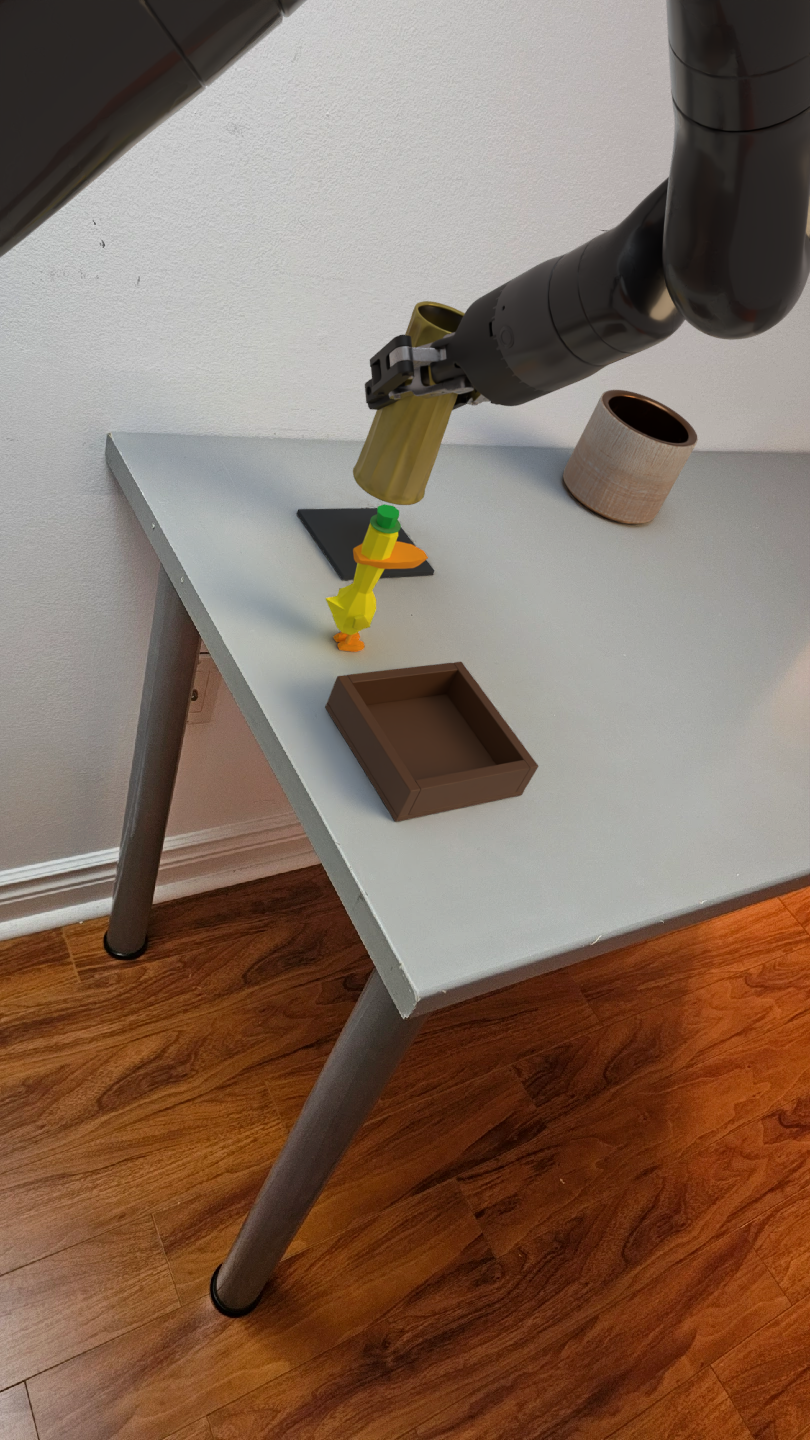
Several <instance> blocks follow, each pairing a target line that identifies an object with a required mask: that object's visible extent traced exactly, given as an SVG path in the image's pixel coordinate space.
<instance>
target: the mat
mask: <svg viewBox="0 0 810 1440" xmlns="http://www.w3.org/2000/svg"><path fill="white" fill-rule="evenodd" d="M377 511H378V507H353V508H350V507H348V508H298V509H297V511H296V515H297V517H298V518H299V519H300V521H301V522H302V524H303V525H304V527H305V528H306V530H307V531H308V533H309V534H310V535H311V537H312V538H313V540H314V542H315V543H316V545H317V546H318V547H319V549H320V550H321V552H322V553H323V554H324V556H325V557H326V559H327V560H328V561H329V563H330V565H331V566H332V568H334V570H335V572H336V573H337V574H338V576H339V578H340V579H341V580H342V581H354V577H355V572H356V567H357V562H355V560H354V555H353V549H354V548H355V547H357V546H359V545H361V544H362V543H363V541H364V539H365V536H366V533H367V530H368V528H369V525H370V520H371V517H372V516H374V515H376V514H377ZM396 541H398V542H403V543H408V544H412V545H414V546H416V544H415V543H414V541H413V540H412V539H411V538H410V537H409V535H408V534H407V532H406V531H405V530H404V528H403V527H402V526H401V528H400V530H399V531H398V537H397V540H396ZM435 571H436V570H435V569H434V568H433V566H432V565H431V563H430V562H429V561H428V559H426V560H425V561H424V562H423V563H421V564H420V565H419V566H417V567H415V568H407V569H384V571H383V573H382V574H381V576H380V578H379V579H388V578H389V579H390V578H406V577H424V576H425V577H426V576H434V573H435Z"/></svg>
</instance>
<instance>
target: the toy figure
mask: <svg viewBox="0 0 810 1440" xmlns="http://www.w3.org/2000/svg"><path fill="white" fill-rule="evenodd" d="M377 508H378V511H377V514H376V515H374V516H372V517H371V520H370V525H369V528H368V530H367V533H366V536H365V539H364V541H363V543H362V544H361V545H359V546H357V547H355V548H354V549H353V555H354V560H355V562H357V567H356V572H355V577H354V580H352V581H353V582H352V583H350V584H348V585H346V586H344V587H340V588H339V590H338V592H337V595H334V596H329V597H325V598H324V599H325V602H326V603H327V606H328V608H329V610H330V613H331V616H332V619H333V621H334V623H335V626H336V628H337V629H338V630H339V632H338V633H336V634H334V635H333V640H334V641H335V643H337V648H338V650H339V651H345V652H352V653H357V652H361V651H363V650H364V649H365V647H366V646H365V642H364V641H362V640H361V639H360V638H361V635H360V633H359V632H361V631H363V630H365V629H369V628H371V625H372V621H373V619H374V617H375V614H376V611H377V598H376V595H375V593H374V591H373V590H374V588H375V587H376V585H377V584H378V582H379V580H380V579H381V578H380V576H381V574H382V573H383V571H384V569H407V568H415V567H417V566H419V565H420V564H421V563H423V562H424V561H425V560H428V559H429V556H428V555H427V553H426V552H425V550H423V549H422V548H420V547H418V546H417V545H415V546H414V545H412V544H408V543H403V542H398V541H396V540H397V537H398V531H399V530H400V528H401V527H402V525H401V521H399V517H400V510H399V509H398V508H397V507H395V506H394V505H392V504H391V505H390V504H385V503H383V504H381V505H379V506H377Z"/></svg>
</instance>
